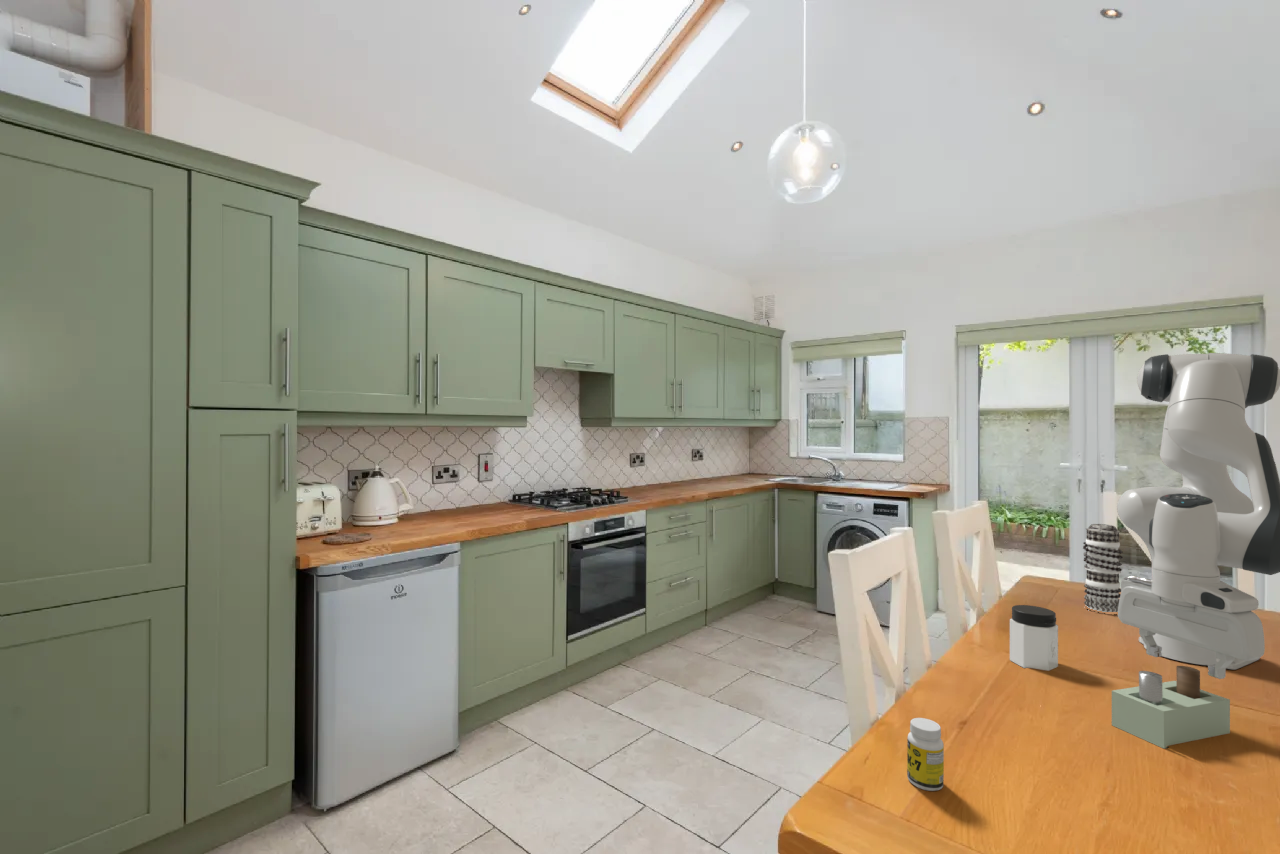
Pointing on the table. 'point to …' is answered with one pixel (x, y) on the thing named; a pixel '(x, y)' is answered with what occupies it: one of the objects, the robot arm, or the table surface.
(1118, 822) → the table surface
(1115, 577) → the decorative candle
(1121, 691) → the socket block
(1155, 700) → the grey metal peg
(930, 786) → the supplement bottle
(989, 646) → the table surface
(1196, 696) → the walnut peg
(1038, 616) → the jar
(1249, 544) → the robot arm
